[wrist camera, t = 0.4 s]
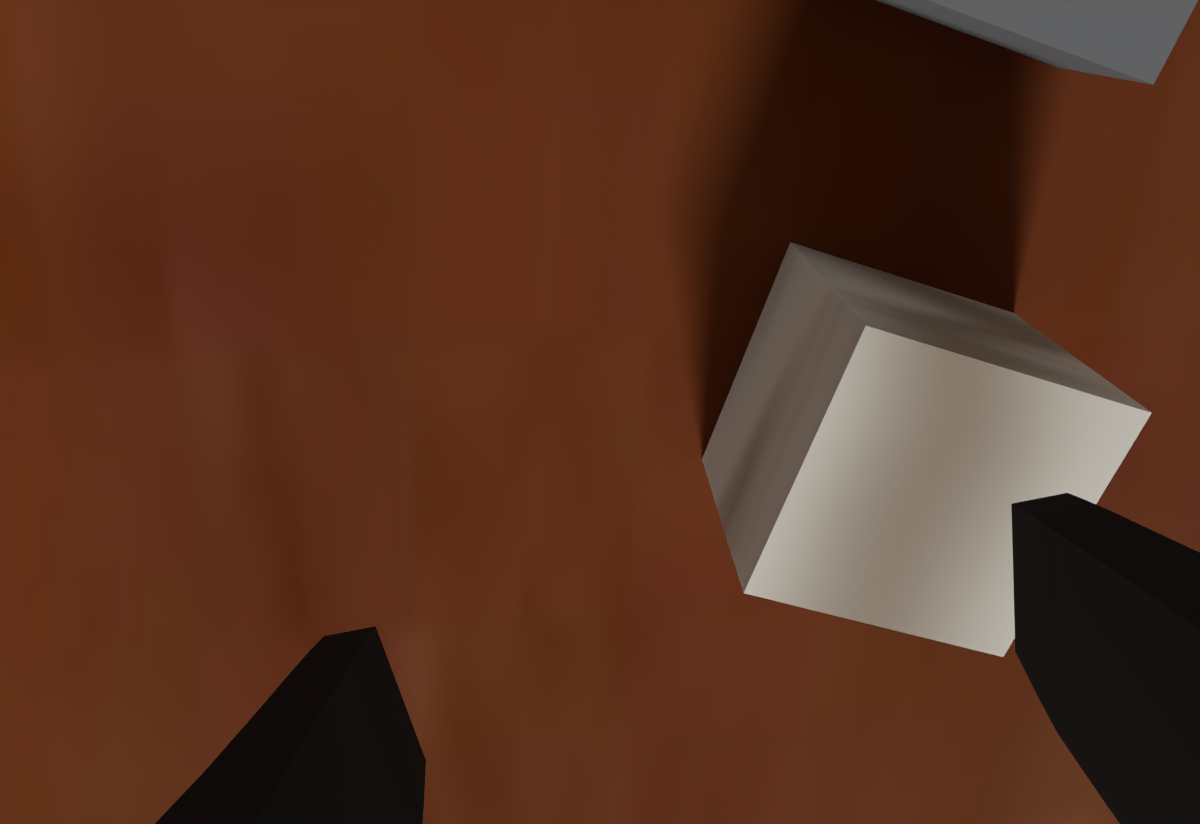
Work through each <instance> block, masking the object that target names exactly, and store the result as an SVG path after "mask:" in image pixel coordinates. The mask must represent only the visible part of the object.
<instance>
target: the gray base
mask: <svg viewBox="0 0 1200 824" xmlns="http://www.w3.org/2000/svg"><path fill="white" fill-rule="evenodd" d="M877 1H879V2H882V3H885V4H887V5H890V6H893V7H896V8H898V9H901V10H904V11H906V12H909V13H912V14H914V15H917V16H920V17H923V18H925V19H928V20H931V21H933V22H936V23H939V24H942V25H944V26H947V27H950V28H952V29H955V30H958V31H960V32H963V33H966V34H969V35H971V36H974V37H977V38H979V39H982V40H985V41H988V42H990V43H993V44H996V45H998V46H1001V47H1004V48H1006V49H1009V50H1012V51H1015V52H1017V53H1020V54H1023V55H1025V56H1028V57H1031V58H1034V59H1036V60H1039V61H1042V62H1044V63H1047V64H1050V65H1052V66H1055V67H1058V68H1062V69H1068V70H1073V71H1079V72H1085V73H1091V74H1096V75H1102V76H1108V77H1113V78H1119V79H1125V80H1130V81H1136V82H1142V83H1147V84H1153V85H1154V83H1155V81H1156V79H1157V77H1158V75H1159V73H1160V71H1161V69H1162V67H1163V66H1164V64H1165V62H1166V60H1167V58H1168V56H1169V54H1170V52H1171V50H1172V49H1173V47H1174V45H1175V43H1176V41H1177V39H1178V37H1179V35H1180V33H1181V32H1182V30H1183V28H1184V26H1185V24H1186V22H1187V20H1188V18H1189V16H1190V14H1191V13H1192V11H1193V9H1194V7H1195V5H1196V3H1197V1H1198V0H877Z"/></svg>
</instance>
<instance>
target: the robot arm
mask: <svg viewBox="0 0 1200 824" xmlns="http://www.w3.org/2000/svg"><path fill="white" fill-rule="evenodd" d="M1011 507H1012V545H1013V582H1014V619H1015V651H1016V653H1017V655H1018V657H1019V659H1020V661H1021V663H1022V665H1023V667H1024V669H1025V671H1026V673H1027V675H1028V677H1029V679H1030V681H1031V683H1032V685H1033V687H1034V689H1035V691H1036V693H1037V695H1038V697H1039V699H1040V701H1041V703H1042V705H1043V707H1044V709H1045V710H1046V712H1047V714H1048V716H1049V718H1050V720H1051V722H1052V723H1053V725H1054V727H1055V729H1056V731H1057V733H1058V734H1059V736H1060V737H1061V739H1062V740H1063V742H1064V743H1065V745H1066V746H1067V748H1068V749H1069V751H1070V752H1071V753H1072V755H1073V756H1074V758H1075V759H1076V761H1077V762H1078V764H1079V765H1080V767H1081V768H1082V770H1083V771H1084V772H1085V774H1086V775H1087V777H1088V778H1089V780H1090V781H1091V783H1092V784H1093V786H1094V787H1095V789H1096V790H1097V791H1098V793H1099V794H1100V796H1101V797H1102V799H1103V800H1104V802H1105V803H1106V804H1107V806H1108V807H1109V809H1110V810H1111V812H1112V813H1113V814H1114V816H1115V817H1116V819H1117V820H1118V822H1119V823H1120V824H1200V553H1199V552H1197V551H1195V550H1193V549H1191V548H1188V547H1186V546H1184V545H1182V544H1180V543H1178V542H1176V541H1173V540H1171V539H1169V538H1167V537H1165V536H1163V535H1161V534H1159V533H1156V532H1154V531H1152V530H1150V529H1148V528H1146V527H1144V526H1141V525H1139V524H1137V523H1135V522H1133V521H1131V520H1129V519H1127V518H1124V517H1122V516H1120V515H1118V514H1116V513H1114V512H1111V511H1109V510H1107V509H1105V508H1103V507H1100V506H1098V505H1096V504H1094V503H1091V502H1089V501H1087V500H1084V499H1082V498H1079V497H1077V496H1074V495H1072V494H1069V493H1064V494H1059V495H1054V496H1048V497H1043V498H1038V499H1033V500H1028V501H1023V502H1017V503H1012V504H1011ZM425 765H426V760H425V757H424V755H423V752H422V749H421V747H420V744H419V741H418V739H417V736H416V733H415V731H414V728H413V725H412V723H411V720H410V717H409V715H408V712H407V709H406V707H405V704H404V701H403V699H402V696H401V693H400V691H399V688H398V685H397V683H396V680H395V677H394V675H393V672H392V669H391V667H390V664H389V661H388V659H387V656H386V653H385V651H384V648H383V645H382V643H381V640H380V637H379V635H378V632H377V629H376V627H370V628H365V629H360V630H355V631H349V632H344V633H339V634H334V635H329V636H324V637H323V638H322V639H321V640H320V641H319V642H318V643H317V644H316V645H315V646H314V647H313V648H312V649H311V650H310V651H309V653H308V654H307V655H306V656H305V657H304V658H303V659H302V660H301V662H300V663H299V664H298V665H297V666H296V667H295V668H294V669H293V671H292V672H291V673H290V674H289V675H288V676H287V678H286V679H285V680H284V681H283V682H282V683H281V685H280V686H279V687H278V688H277V689H276V690H275V692H274V693H273V694H272V695H271V696H270V697H269V698H268V700H267V701H266V702H265V703H264V704H263V705H262V707H261V708H260V709H259V710H258V711H257V712H256V714H255V715H254V716H253V717H252V718H251V719H250V720H249V722H248V723H247V724H246V725H245V726H244V727H243V728H242V730H241V731H240V732H239V733H238V734H237V735H236V736H235V738H234V739H233V740H232V741H231V742H230V743H229V744H228V746H227V747H226V748H225V749H224V750H223V751H222V752H221V754H220V755H219V756H218V757H217V758H216V759H215V760H214V761H213V763H212V764H211V765H210V766H209V767H208V768H207V769H206V770H205V772H204V773H203V774H202V775H201V776H200V777H199V778H198V779H197V780H196V781H195V782H194V783H193V784H192V785H191V786H190V787H189V789H188V790H187V791H186V792H185V793H184V794H183V795H182V796H181V797H180V798H179V799H178V800H177V801H176V802H175V803H174V804H173V805H172V806H171V807H170V809H169V810H168V811H167V812H166V813H165V814H164V815H163V816H162V817H161V818H160V819H159V820H158V821H157V822H156V823H155V824H422V821H423V807H424V786H425Z"/></svg>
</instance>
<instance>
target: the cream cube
mask: <svg viewBox="0 0 1200 824" xmlns="http://www.w3.org/2000/svg"><path fill="white" fill-rule="evenodd" d="M1150 415H1151V412H1150V411H1148V410H1147V409H1146V408H1144V407H1143V406H1142V405H1140V404H1139V403H1137V402H1136V401H1135V400H1133V399H1132V398H1131V397H1129V396H1128V395H1126V394H1125V393H1124V392H1122V391H1121V390H1119V389H1118V388H1117V387H1115V386H1114V385H1113V384H1111V383H1110V382H1108V381H1107V380H1106V379H1104V378H1103V377H1102V376H1100V375H1099V374H1097V373H1096V372H1095V371H1093V370H1092V369H1091V368H1089V367H1088V366H1086V365H1085V364H1084V363H1082V362H1081V361H1079V360H1078V359H1077V358H1075V357H1074V356H1073V355H1071V354H1070V353H1068V352H1067V351H1066V350H1064V349H1063V348H1062V347H1060V346H1059V345H1057V344H1056V343H1055V342H1053V341H1052V340H1050V339H1049V338H1048V337H1046V336H1045V335H1044V334H1042V333H1041V332H1039V331H1038V330H1037V329H1035V328H1034V327H1033V326H1031V325H1030V324H1028V323H1027V322H1026V321H1024V320H1023V319H1022V318H1020V317H1019V316H1017V315H1016V314H1015V313H1013V312H1009V311H1006V310H1003V309H1000V308H997V307H994V306H990V305H987V304H984V303H981V302H978V301H975V300H971V299H968V298H965V297H962V296H959V295H956V294H953V293H949V292H946V291H943V290H940V289H937V288H934V287H930V286H927V285H924V284H921V283H918V282H915V281H911V280H908V279H905V278H902V277H899V276H896V275H893V274H889V273H886V272H883V271H880V270H877V269H874V268H870V267H867V266H864V265H861V264H858V263H855V262H852V261H848V260H845V259H842V258H839V257H836V256H833V255H829V254H826V253H823V252H820V251H817V250H814V249H810V248H807V247H804V246H801V245H798V244H795V243H792V242H790V244H789V247H788V249H787V252H786V254H785V256H784V259H783V261H782V264H781V266H780V269H779V271H778V274H777V276H776V279H775V281H774V283H773V286H772V288H771V291H770V293H769V296H768V298H767V301H766V303H765V305H764V308H763V310H762V313H761V315H760V318H759V320H758V323H757V325H756V328H755V330H754V332H753V335H752V337H751V340H750V342H749V345H748V347H747V350H746V352H745V355H744V357H743V359H742V362H741V364H740V367H739V369H738V372H737V374H736V377H735V379H734V382H733V384H732V386H731V389H730V391H729V394H728V396H727V399H726V401H725V404H724V406H723V409H722V411H721V413H720V416H719V418H718V421H717V423H716V426H715V428H714V431H713V433H712V436H711V438H710V440H709V443H708V445H707V448H706V450H705V453H704V455H703V458H702V461H703V464H704V468H705V471H706V474H707V477H708V480H709V484H710V487H711V490H712V493H713V496H714V500H715V503H716V506H717V509H718V512H719V516H720V519H721V522H722V525H723V529H724V532H725V535H726V538H727V541H728V545H729V548H730V551H731V554H732V557H733V561H734V564H735V567H736V570H737V573H738V577H739V580H740V583H741V586H742V589H743V593H746V594H750V595H754V596H758V597H762V598H766V599H770V600H774V601H778V602H782V603H786V604H790V605H794V606H798V607H802V608H806V609H810V610H814V611H818V612H823V613H827V614H831V615H835V616H839V617H843V618H847V619H851V620H855V621H859V622H863V623H867V624H871V625H875V626H879V627H883V628H887V629H891V630H895V631H900V632H904V633H908V634H912V635H916V636H920V637H924V638H928V639H932V640H936V641H940V642H944V643H948V644H952V645H956V646H960V647H964V648H968V649H972V650H977V651H981V652H985V653H989V654H993V655H997V656H1001V657H1003V656H1004V655H1005V653H1006V652H1007V650H1008V648H1009V647H1010V645H1011V643H1012V642H1013V640H1014V638H1015V619H1014V582H1013V545H1012V507H1011V504H1012V503H1017V502H1023V501H1028V500H1033V499H1038V498H1043V497H1048V496H1054V495H1059V494H1064V493H1069V494H1072V495H1074V496H1077V497H1079V498H1082V499H1084V500H1087V501H1089V502H1091V503H1094V504H1097V502H1098V500H1099V499H1100V497H1101V495H1102V494H1103V492H1104V490H1105V489H1106V487H1107V485H1108V484H1109V482H1110V481H1111V479H1112V477H1113V476H1114V474H1115V472H1116V471H1117V469H1118V467H1119V466H1120V464H1121V462H1122V461H1123V459H1124V458H1125V456H1126V454H1127V453H1128V451H1129V449H1130V448H1131V446H1132V444H1133V443H1134V441H1135V439H1136V438H1137V436H1138V435H1139V433H1140V431H1141V430H1142V428H1143V426H1144V425H1145V423H1146V421H1147V420H1148V418H1149V416H1150Z"/></svg>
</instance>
